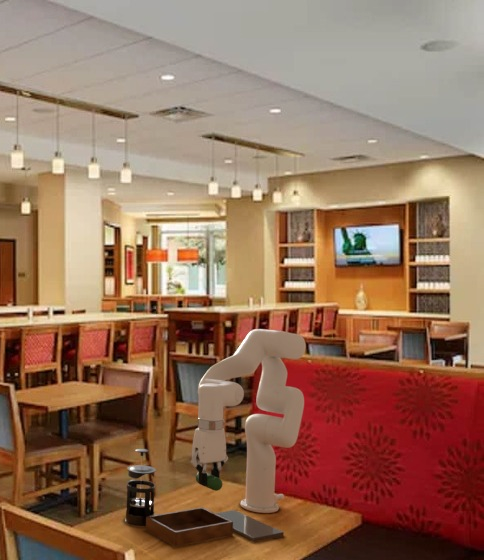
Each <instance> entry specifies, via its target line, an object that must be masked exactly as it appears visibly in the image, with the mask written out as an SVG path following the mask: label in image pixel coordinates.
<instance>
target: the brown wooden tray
mask: <svg viewBox="0 0 484 560" xmlns="http://www.w3.org/2000/svg"><path fill="white" fill-rule="evenodd" d="M215 513H216V512H213V511H212V510H209V509H207V508H205V507H203V506H202V507H201V506H200V507H195V508H189V509H184V510H177V511H170V512H166V513H165V512H164V513H159V514H154V515H153V516H147V517H146V526H145V530H146V531H147V532H148V533H150V534H153V535H154V536H156V537H158V538H160V539H161V540H163V542H164V541H165V542H166V543H168V544H170V545H171V546H173V547H180V546H185V545H189V544H194V543H201V542H204V541H205V542H206V541H211V540H215V539H216V540H217V539H221V538H225V537H230V536H233V535H234V534H233V533H234V532H233V522H232V521H230V520H228V519H226V518H224V517H222V516H220V515H217V514H215Z"/></svg>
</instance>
